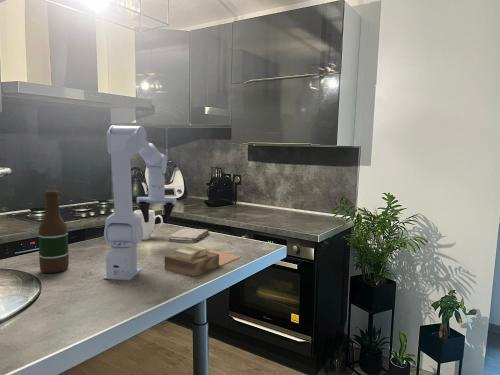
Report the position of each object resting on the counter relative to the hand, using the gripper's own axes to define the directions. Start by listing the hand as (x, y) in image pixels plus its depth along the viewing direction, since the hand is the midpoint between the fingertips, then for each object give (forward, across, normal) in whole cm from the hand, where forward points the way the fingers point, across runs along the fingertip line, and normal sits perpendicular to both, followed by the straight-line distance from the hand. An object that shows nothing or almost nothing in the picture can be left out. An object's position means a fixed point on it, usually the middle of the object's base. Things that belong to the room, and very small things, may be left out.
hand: (156, 222), depth 134 cm
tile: (+6, -19, +19) cm, 27 cm away
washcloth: (+10, -7, -18) cm, 22 cm away
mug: (+10, +8, -13) cm, 19 cm away
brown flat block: (+10, -19, +18) cm, 28 cm away
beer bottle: (+10, +22, +28) cm, 36 cm away
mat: (+10, -24, +7) cm, 27 cm away
